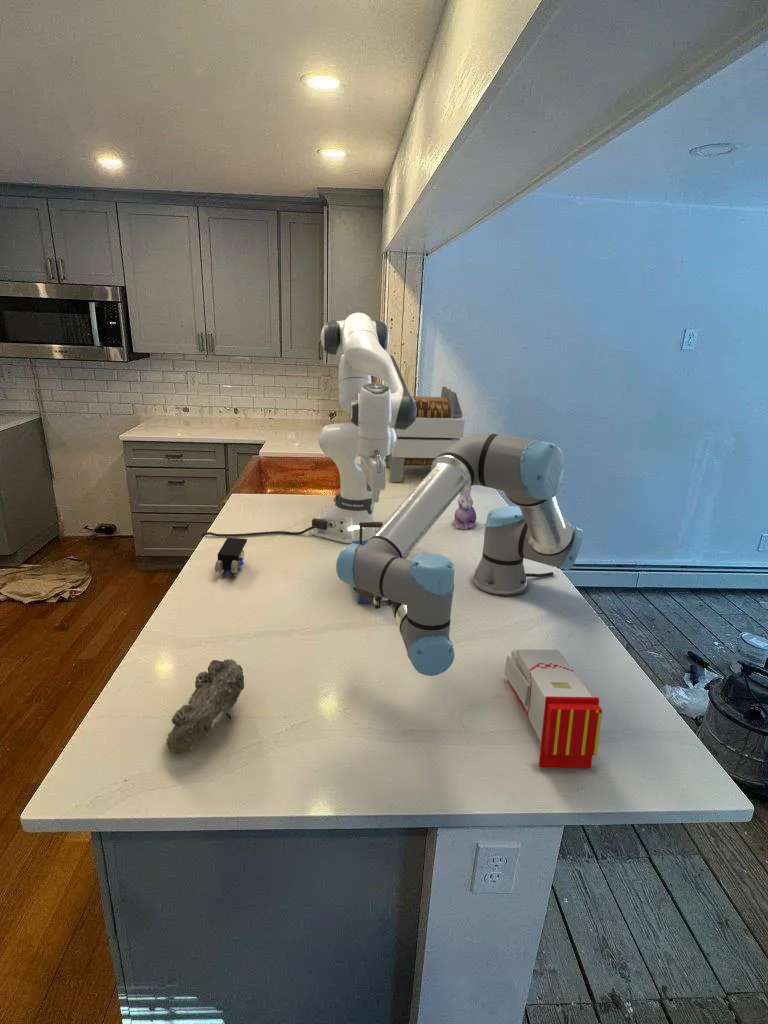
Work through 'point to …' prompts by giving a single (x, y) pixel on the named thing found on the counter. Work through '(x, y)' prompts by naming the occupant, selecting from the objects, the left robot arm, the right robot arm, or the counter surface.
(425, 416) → the transformer
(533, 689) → the toy
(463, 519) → the figurine
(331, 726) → the counter surface
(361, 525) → the lid
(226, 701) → the fossil
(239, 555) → the figurine character
